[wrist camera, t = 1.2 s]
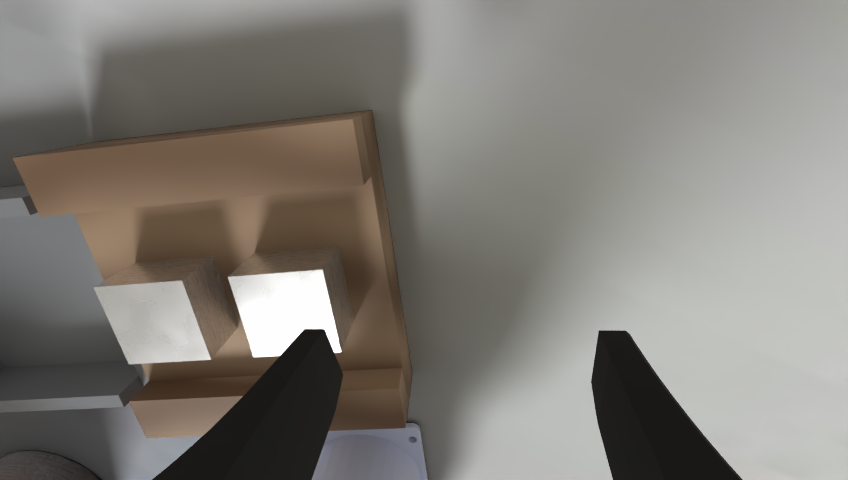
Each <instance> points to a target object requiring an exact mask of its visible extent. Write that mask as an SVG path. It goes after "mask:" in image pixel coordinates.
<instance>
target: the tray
mask: <svg viewBox="0 0 848 480" xmlns="http://www.w3.org/2000/svg"><path fill="white" fill-rule="evenodd" d="M103 281H104V280H103V278H102V275H101V273H100V271H99V269H98V266H97V264H96V262H95V260H94V257H93V255H92V253H91V251H90V249H89V246H88V244H87V242H86V240H85V237H84V235H83V233H82V231H81V228H80V226H79V224H78V222H77V219H76V217H75V215H74V214H64V215H54V216H44V217H40V215H39V213H38V211H37V209H36V207H35V205H34V203H33V200H32V198H31V196H30V194H29V192H28V190H27V188H26V186H25V185H20V186H11V187H1V188H0V413H6V412H28V411H50V410H71V409H93V408H115V407H125V406H126V405H127V404H128V402H129V401H130V400H131V399H132V398H133V397H134V396H135V395H136V394H137V393H138V392H139V391H140V390H141V389H142V388H143V387H144V386H145V385H146V384H147V382H148V381H149V380H148V378H147V376H146V374H145V372H144V369H143V367H142V365H141V364H128V361H127V359H126V357H125V355H124V353H123V351H122V348H121V346H120V344H119V342H118V340H117V337H116V335H115V333H114V331H113V329H112V327H111V324H110V322H109V320H108V318H107V316H106V314H105V311H104V309H103V307H102V305H101V303H100V301H99V298H98V296H97V294H96V292H95V290H94V288H93V287H95V286H97V285H98V284H100V283H102V282H103Z"/></svg>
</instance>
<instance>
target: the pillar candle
mask: <svg viewBox="0 0 848 480" xmlns="http://www.w3.org/2000/svg"><path fill="white" fill-rule="evenodd" d="M0 480H100V479H98V478H97V477H96V475H95V474H94V473H92V472H91V471H89V470H88V469H87V468H85V467H83V466H82V465H79V464H77V463H76V462H74V461H70V460H68V459H66V458H64V457H61V456H58V455H55V454H51V453H47V452H40V451H31V450H29V451H18V452H15V453H10V454H7V455H5V456H4V457H2V458H1V459H0Z"/></svg>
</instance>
